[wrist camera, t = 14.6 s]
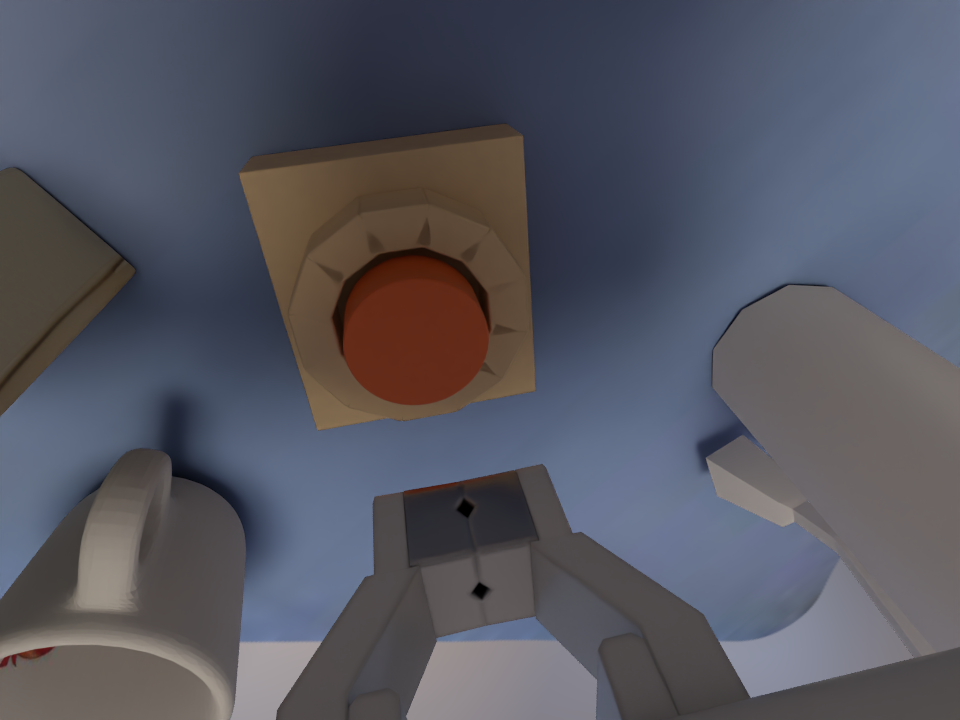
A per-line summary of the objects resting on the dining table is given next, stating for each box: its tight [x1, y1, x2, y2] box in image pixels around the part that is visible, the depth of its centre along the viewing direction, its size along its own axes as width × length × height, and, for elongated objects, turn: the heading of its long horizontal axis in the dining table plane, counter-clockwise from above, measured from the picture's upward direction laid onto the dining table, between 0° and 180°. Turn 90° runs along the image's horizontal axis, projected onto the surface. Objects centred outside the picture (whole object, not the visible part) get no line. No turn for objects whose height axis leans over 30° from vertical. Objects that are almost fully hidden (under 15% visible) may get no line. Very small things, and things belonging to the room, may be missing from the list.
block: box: [239, 123, 536, 431], centre depth 19 cm, size 9×8×4 cm
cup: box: [0, 448, 246, 720], centre depth 20 cm, size 11×8×8 cm
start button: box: [343, 255, 489, 405], centre depth 16 cm, size 4×4×2 cm
